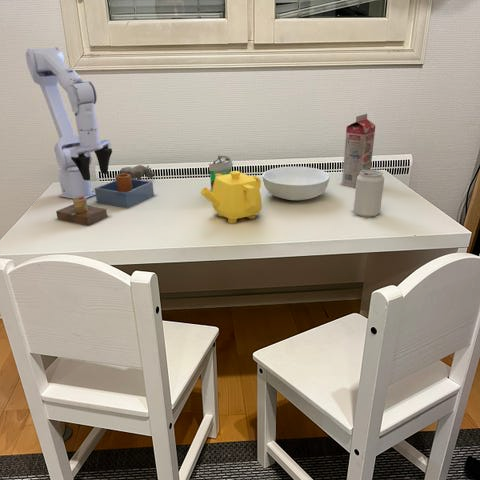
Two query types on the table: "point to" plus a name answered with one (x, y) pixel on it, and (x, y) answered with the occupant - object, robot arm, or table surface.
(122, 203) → the blue open tray
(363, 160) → the juice carton
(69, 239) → the table surface
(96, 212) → the panel
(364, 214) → the can
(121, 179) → the jar
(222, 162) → the grey green irregular piece
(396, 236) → the table surface
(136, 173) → the rhino figurine
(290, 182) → the serving bowl
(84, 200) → the tap knob
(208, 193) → the teapot
